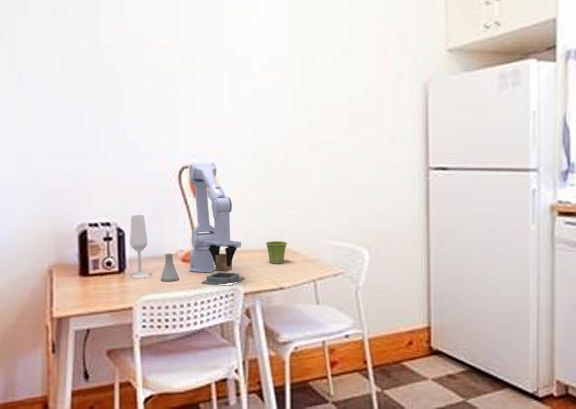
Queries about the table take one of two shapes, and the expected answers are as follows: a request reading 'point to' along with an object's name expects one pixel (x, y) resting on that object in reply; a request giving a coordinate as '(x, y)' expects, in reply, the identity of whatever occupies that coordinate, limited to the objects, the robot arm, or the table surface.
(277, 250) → the plant pot
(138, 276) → the champagne flute
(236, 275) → the holder
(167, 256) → the flask
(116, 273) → the table surface
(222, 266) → the block
